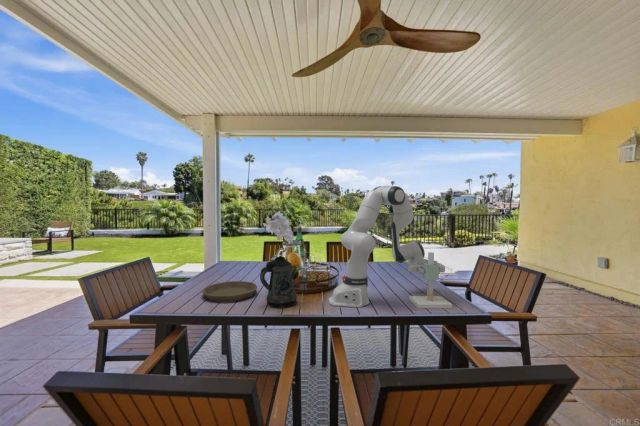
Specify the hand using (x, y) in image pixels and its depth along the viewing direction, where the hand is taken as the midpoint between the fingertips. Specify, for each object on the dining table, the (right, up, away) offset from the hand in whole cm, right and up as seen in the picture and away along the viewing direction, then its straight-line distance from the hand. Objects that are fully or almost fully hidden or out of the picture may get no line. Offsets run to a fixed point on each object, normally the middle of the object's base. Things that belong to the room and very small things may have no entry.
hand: (431, 271), depth 162 cm
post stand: (0, -18, +1) cm, 18 cm away
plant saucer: (-114, -17, +15) cm, 116 cm away
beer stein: (-82, -18, -1) cm, 84 cm away
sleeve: (0, -4, +1) cm, 4 cm away
